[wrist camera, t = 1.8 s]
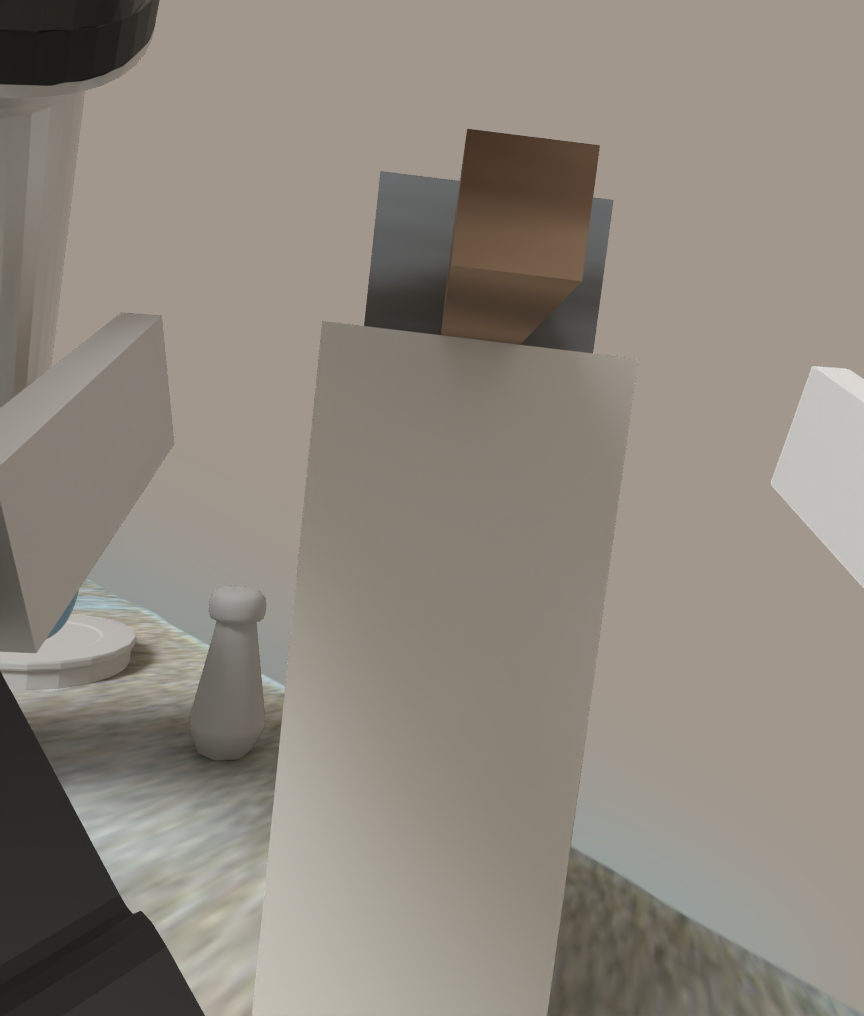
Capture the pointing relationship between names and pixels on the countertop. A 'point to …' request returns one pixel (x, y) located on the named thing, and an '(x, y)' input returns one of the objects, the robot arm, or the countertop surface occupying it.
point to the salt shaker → (230, 678)
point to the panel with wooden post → (494, 246)
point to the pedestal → (439, 673)
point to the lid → (71, 655)
